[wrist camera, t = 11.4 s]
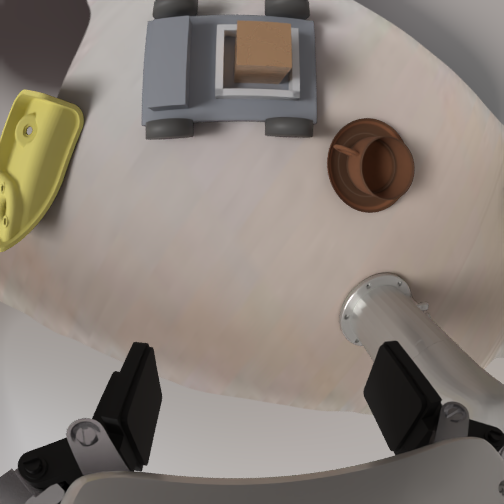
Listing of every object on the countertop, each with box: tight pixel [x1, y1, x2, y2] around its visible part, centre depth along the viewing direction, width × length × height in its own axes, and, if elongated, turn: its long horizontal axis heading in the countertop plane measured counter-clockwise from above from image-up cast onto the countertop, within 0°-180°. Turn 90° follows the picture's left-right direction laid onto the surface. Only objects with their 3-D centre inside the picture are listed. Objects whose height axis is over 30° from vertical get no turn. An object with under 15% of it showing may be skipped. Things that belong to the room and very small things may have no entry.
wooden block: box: [234, 20, 292, 84], centre depth 24 cm, size 5×5×7 cm
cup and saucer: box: [327, 118, 414, 213], centre depth 31 cm, size 12×12×6 cm
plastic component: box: [0, 90, 84, 252], centre depth 28 cm, size 20×8×10 cm
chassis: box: [142, 0, 317, 140], centre depth 26 cm, size 20×18×5 cm
